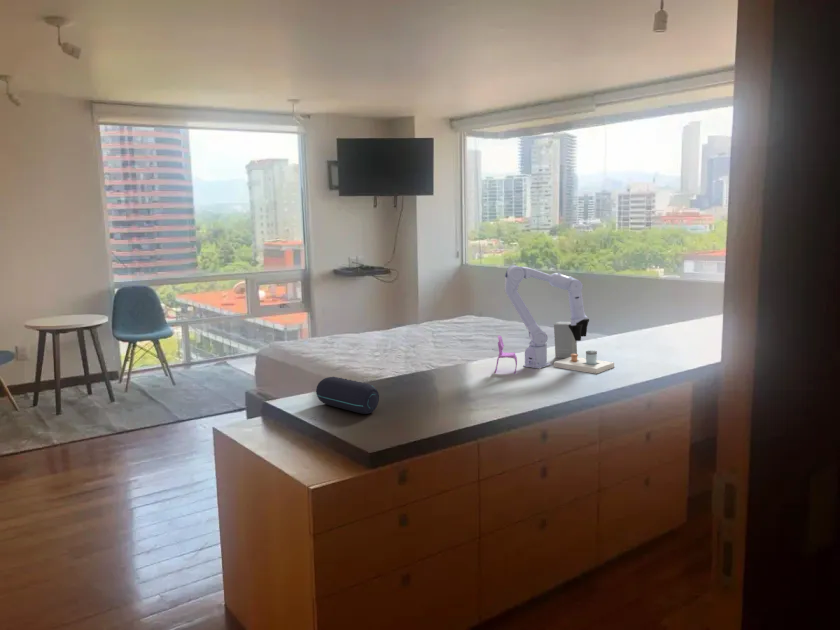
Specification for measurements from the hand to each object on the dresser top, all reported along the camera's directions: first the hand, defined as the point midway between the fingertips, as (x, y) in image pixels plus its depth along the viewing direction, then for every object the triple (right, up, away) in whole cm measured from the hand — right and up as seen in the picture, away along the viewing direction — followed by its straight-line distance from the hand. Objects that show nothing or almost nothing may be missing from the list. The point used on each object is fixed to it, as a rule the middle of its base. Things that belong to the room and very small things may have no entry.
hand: (580, 338), depth 275 cm
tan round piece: (-3, -10, -1) cm, 10 cm away
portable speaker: (-92, -22, -54) cm, 109 cm away
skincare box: (-3, -9, +16) cm, 19 cm away
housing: (0, -12, -4) cm, 12 cm away
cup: (+3, -12, -6) cm, 14 cm away
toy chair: (-33, -14, -7) cm, 36 cm away
